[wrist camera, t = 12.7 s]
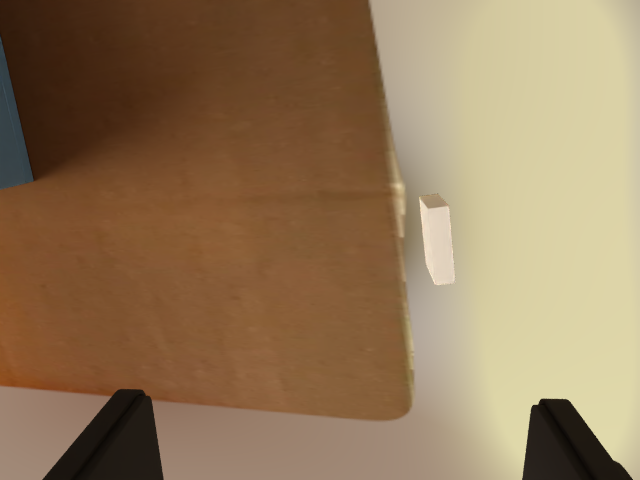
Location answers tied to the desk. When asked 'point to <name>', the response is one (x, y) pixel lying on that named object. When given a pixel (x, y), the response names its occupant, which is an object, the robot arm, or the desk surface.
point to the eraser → (437, 238)
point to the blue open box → (11, 134)
